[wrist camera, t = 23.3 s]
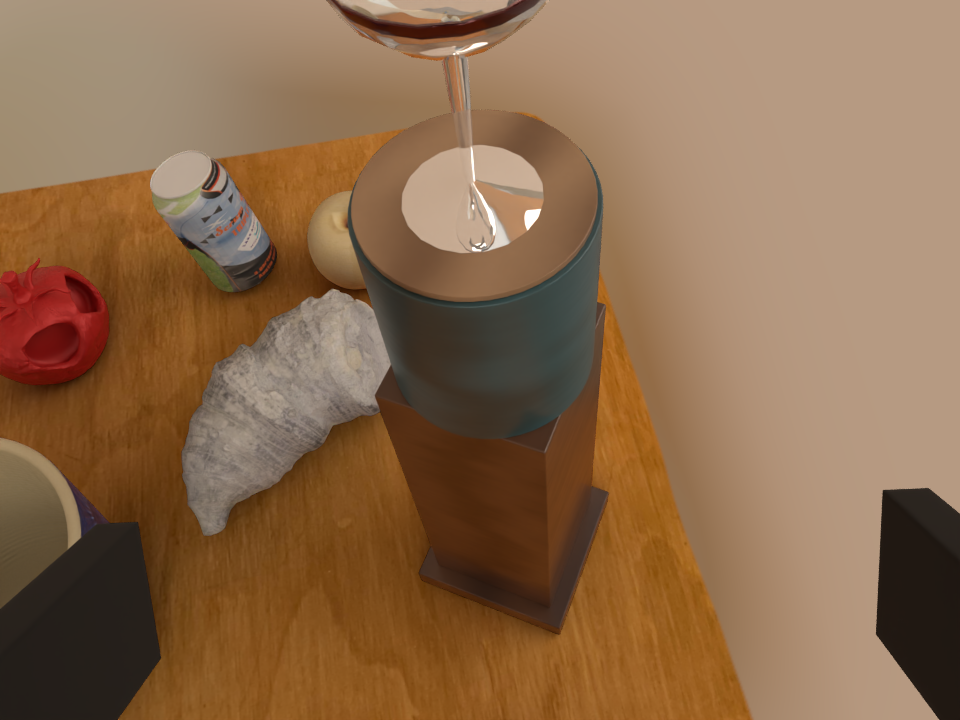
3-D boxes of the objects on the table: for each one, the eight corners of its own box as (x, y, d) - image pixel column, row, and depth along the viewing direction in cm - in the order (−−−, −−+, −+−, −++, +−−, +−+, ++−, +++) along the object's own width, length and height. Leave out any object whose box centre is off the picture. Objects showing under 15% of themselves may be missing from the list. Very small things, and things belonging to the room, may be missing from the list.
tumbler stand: (607, 500, 61) (654, 129, 31) (559, 635, 56) (560, 352, 26) (477, 455, 63) (404, 73, 33) (421, 580, 59) (279, 267, 29)
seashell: (207, 552, 61) (150, 498, 52) (193, 380, 69) (142, 309, 60) (427, 494, 62) (407, 431, 53) (389, 331, 70) (366, 254, 61)
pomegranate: (-20, 386, 70) (-94, 323, 62) (44, 289, 75) (-17, 218, 67) (85, 412, 68) (23, 349, 60) (144, 310, 73) (93, 240, 65)
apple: (395, 210, 76) (412, 182, 68) (394, 299, 75) (411, 281, 67) (304, 203, 74) (311, 174, 66) (303, 295, 73) (310, 276, 65)
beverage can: (271, 302, 72) (224, 206, 62) (189, 297, 73) (128, 201, 63) (289, 243, 75) (247, 142, 65) (210, 239, 76) (156, 139, 66)
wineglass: (546, 112, 32) (540, -254, 22) (591, 253, 28) (610, -106, 18) (365, 146, 32) (273, -207, 21) (388, 292, 28) (289, -48, 18)
